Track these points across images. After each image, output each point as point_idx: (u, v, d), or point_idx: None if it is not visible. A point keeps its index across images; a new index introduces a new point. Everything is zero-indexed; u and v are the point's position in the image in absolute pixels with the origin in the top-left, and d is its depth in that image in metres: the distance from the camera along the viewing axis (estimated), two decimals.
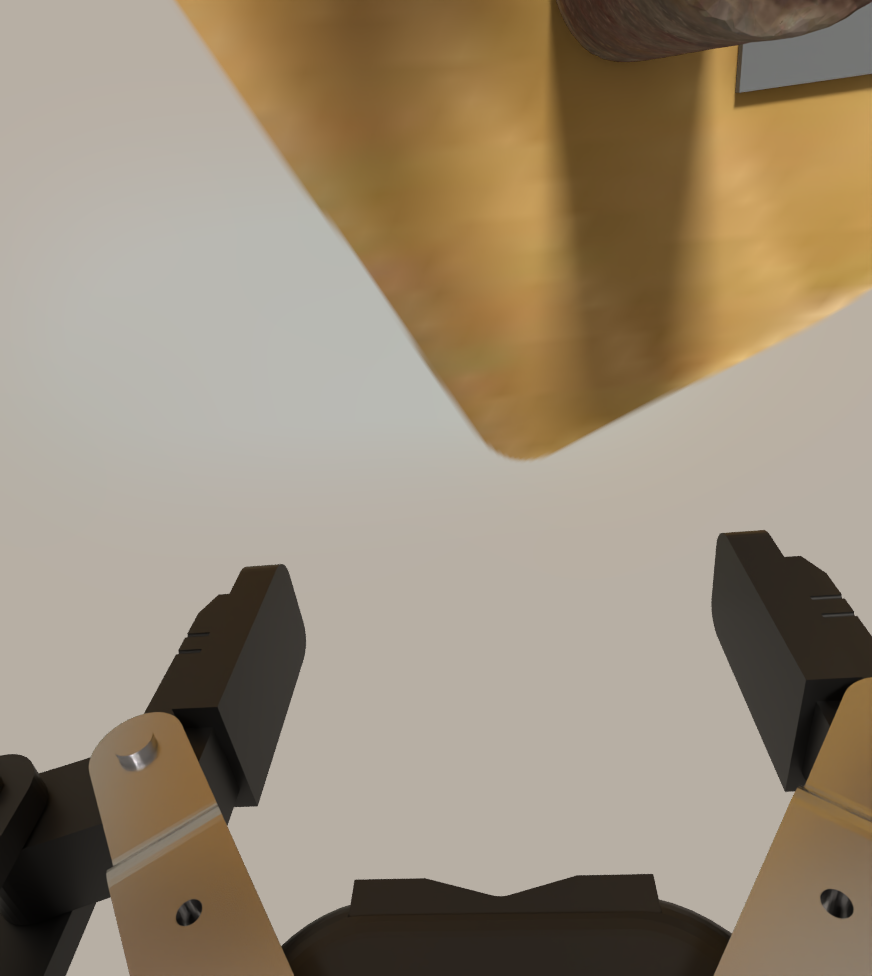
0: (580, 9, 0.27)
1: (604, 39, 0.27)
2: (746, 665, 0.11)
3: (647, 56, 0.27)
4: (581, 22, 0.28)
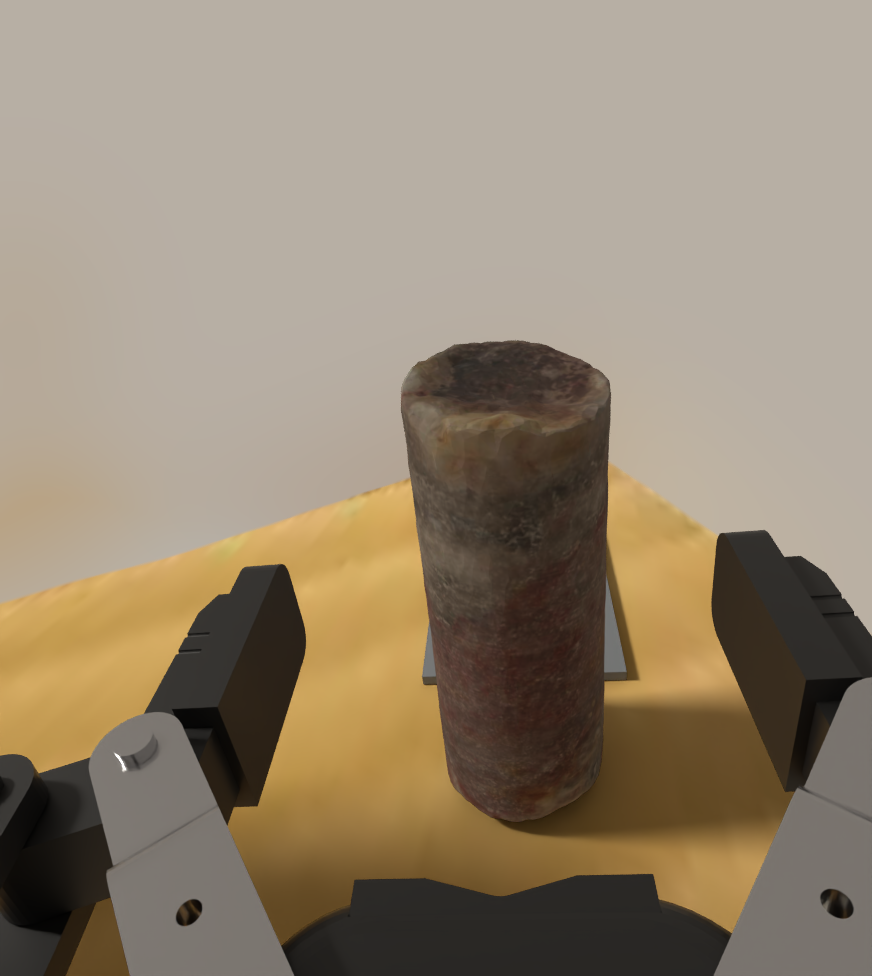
0: (561, 723, 0.27)
1: (588, 698, 0.27)
2: (746, 665, 0.11)
3: (603, 660, 0.28)
4: (570, 738, 0.27)
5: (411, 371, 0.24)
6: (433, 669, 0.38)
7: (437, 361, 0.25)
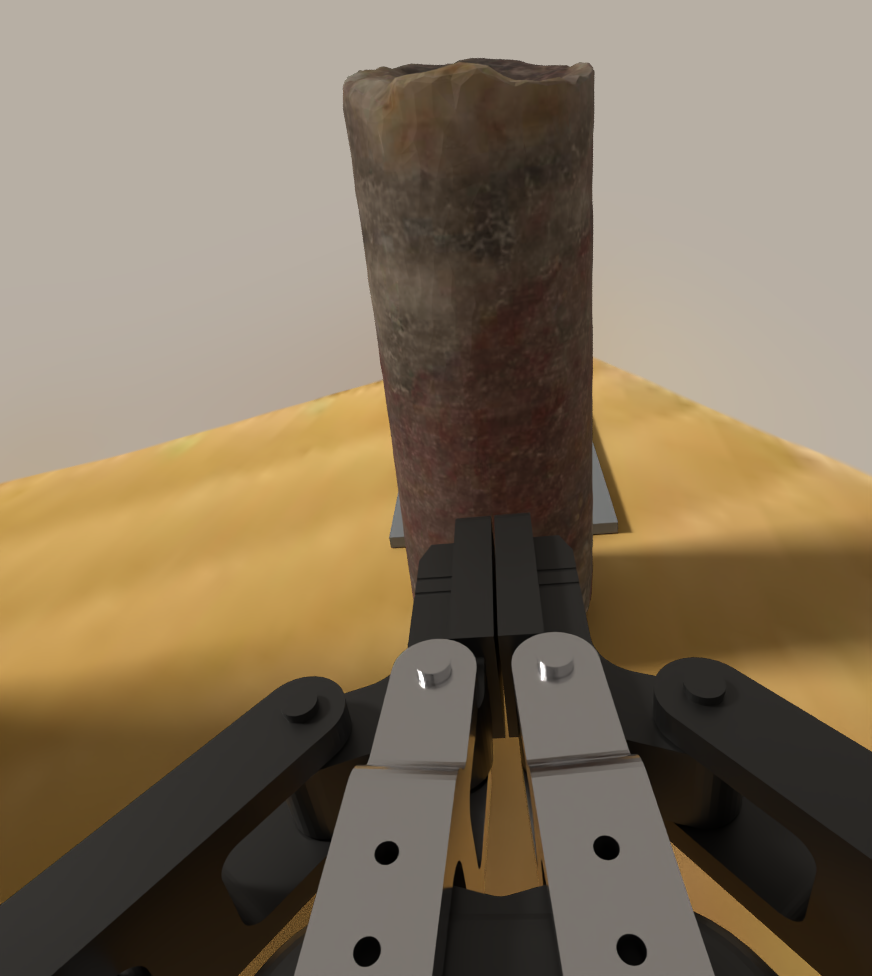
0: (543, 519, 0.23)
1: (574, 493, 0.23)
2: None
3: (591, 456, 0.24)
4: None
5: None
6: (402, 530, 0.34)
7: (387, 70, 0.21)
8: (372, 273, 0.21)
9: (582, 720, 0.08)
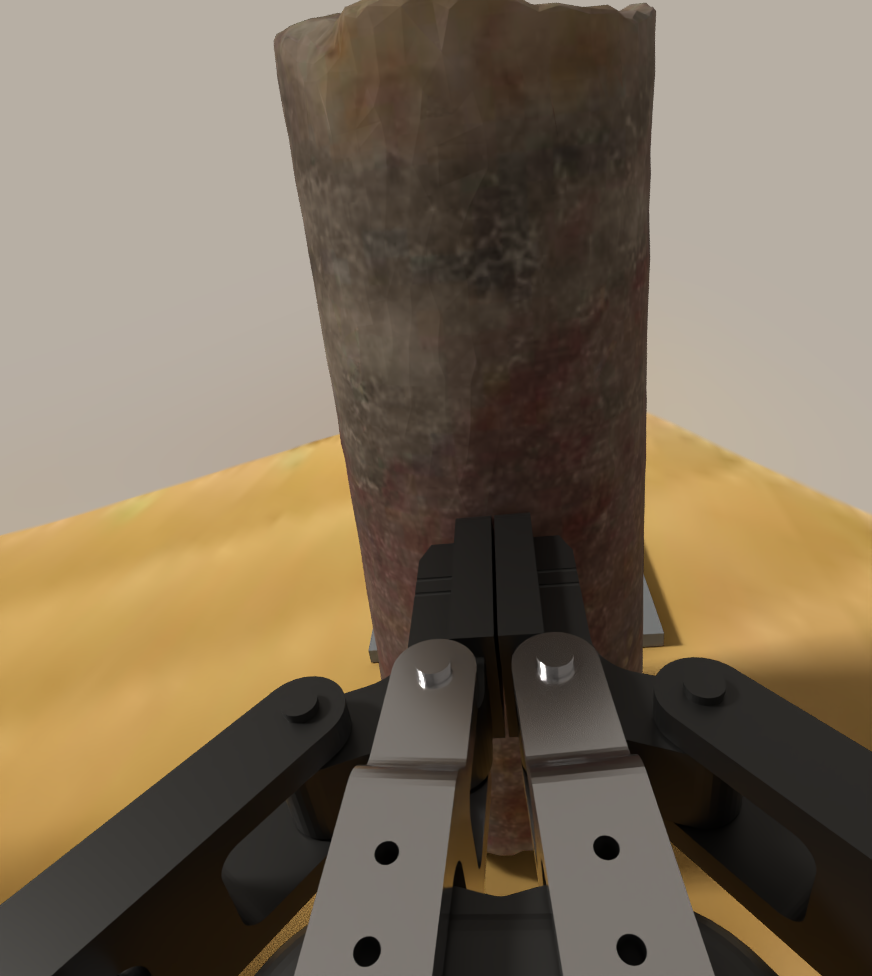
0: None
1: (622, 629, 0.16)
2: None
3: None
4: None
5: None
6: None
7: None
8: (323, 317, 0.14)
9: (582, 720, 0.08)
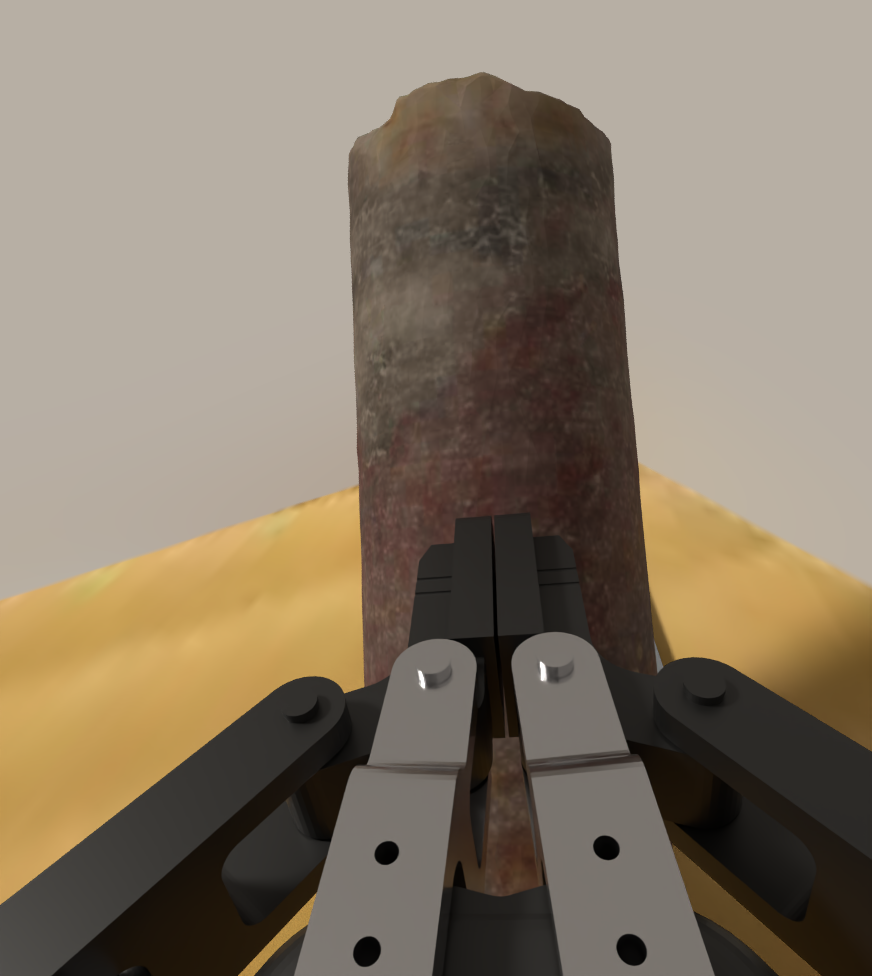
0: None
1: (628, 627, 0.15)
2: None
3: (649, 598, 0.16)
4: None
5: None
6: None
7: None
8: (357, 324, 0.17)
9: (582, 720, 0.08)
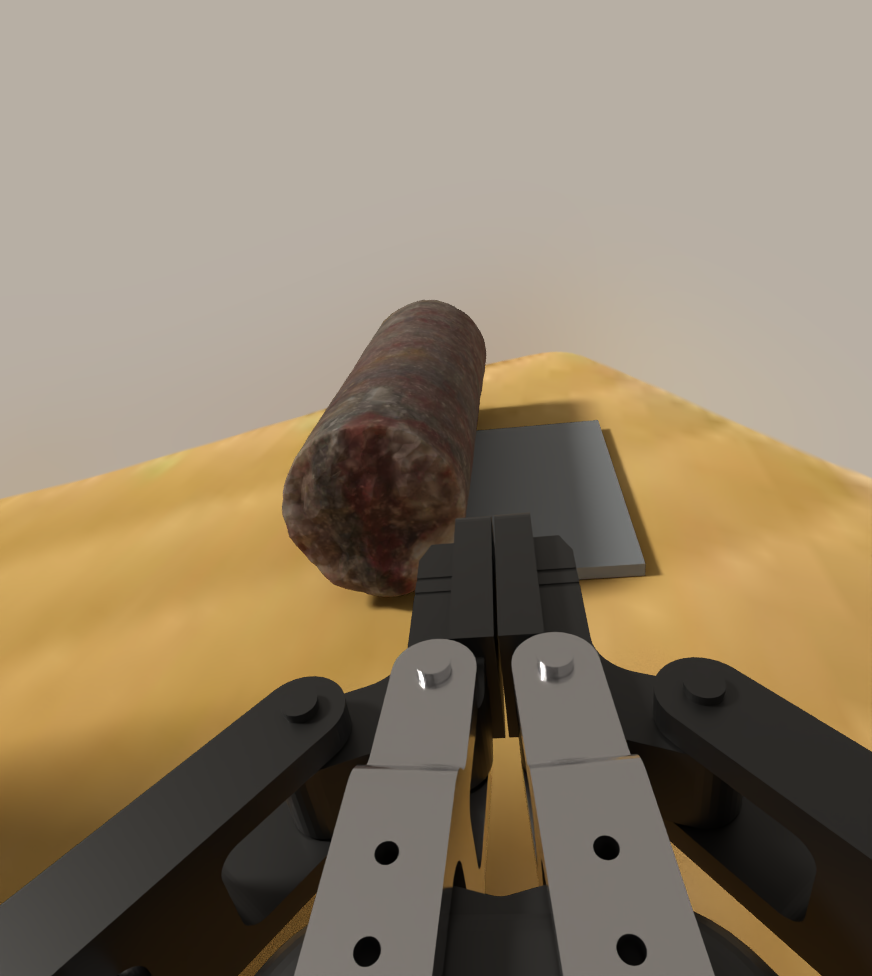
0: None
1: (348, 384, 0.31)
2: None
3: (385, 367, 0.31)
4: (325, 411, 0.30)
5: None
6: None
7: None
8: None
9: (582, 720, 0.08)
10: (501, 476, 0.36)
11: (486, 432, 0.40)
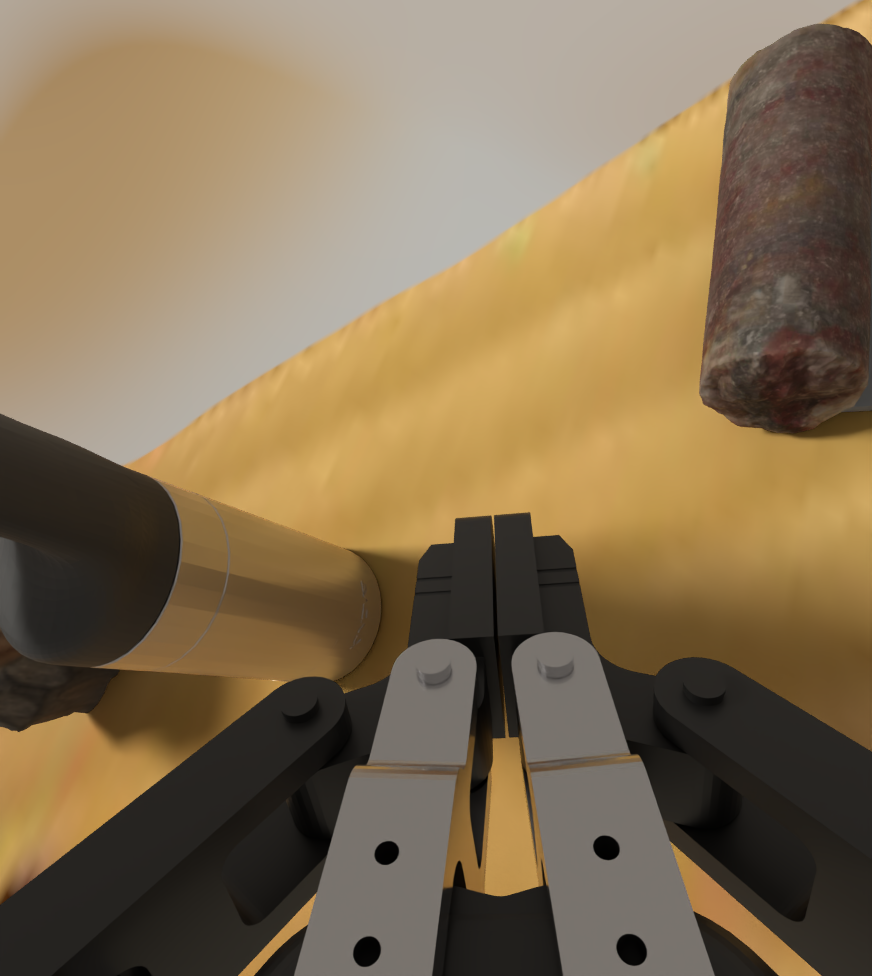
0: (720, 271, 0.34)
1: (743, 249, 0.33)
2: None
3: (783, 229, 0.32)
4: (724, 286, 0.33)
5: None
6: None
7: None
8: None
9: (583, 720, 0.08)
10: None
11: None
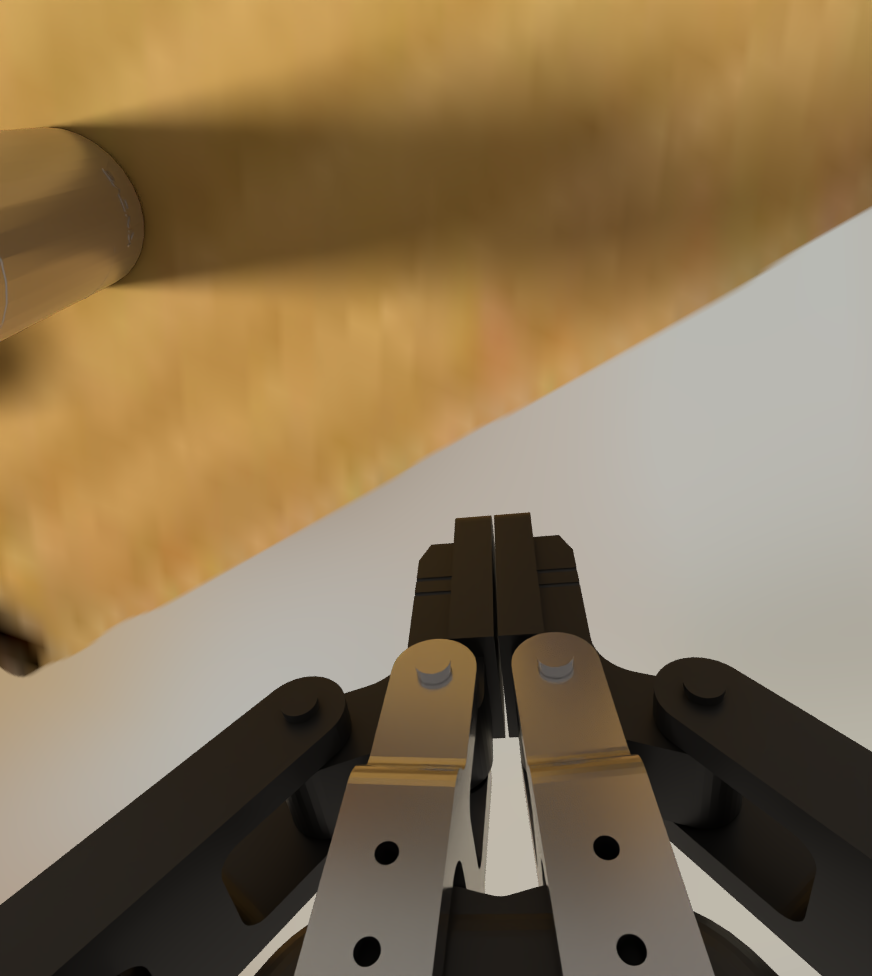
0: None
1: None
2: None
3: None
4: None
5: None
6: None
7: None
8: None
9: (582, 720, 0.08)
10: None
11: None
